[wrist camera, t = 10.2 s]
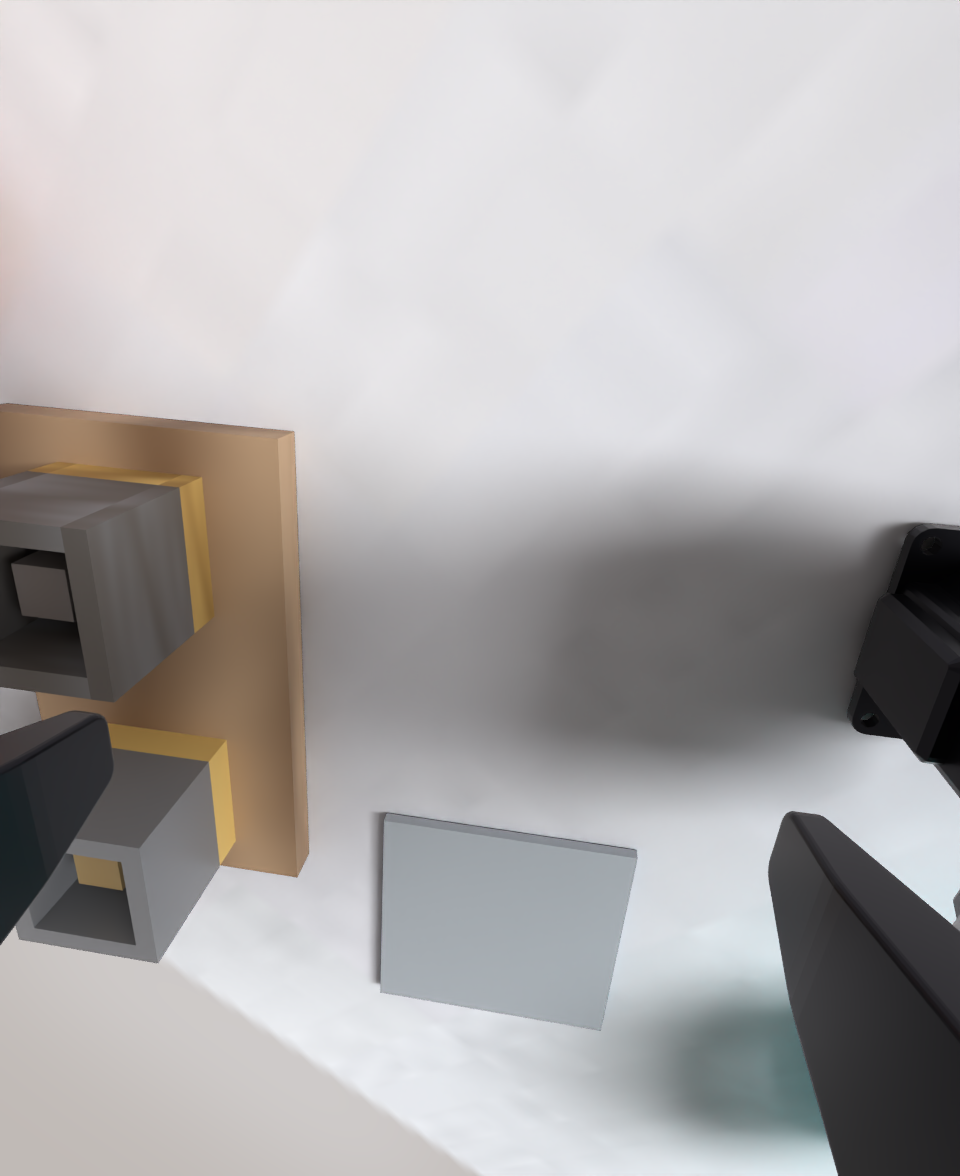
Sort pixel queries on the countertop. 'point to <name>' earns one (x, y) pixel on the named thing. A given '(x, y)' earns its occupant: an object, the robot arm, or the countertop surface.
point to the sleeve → (142, 847)
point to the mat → (501, 919)
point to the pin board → (162, 598)
